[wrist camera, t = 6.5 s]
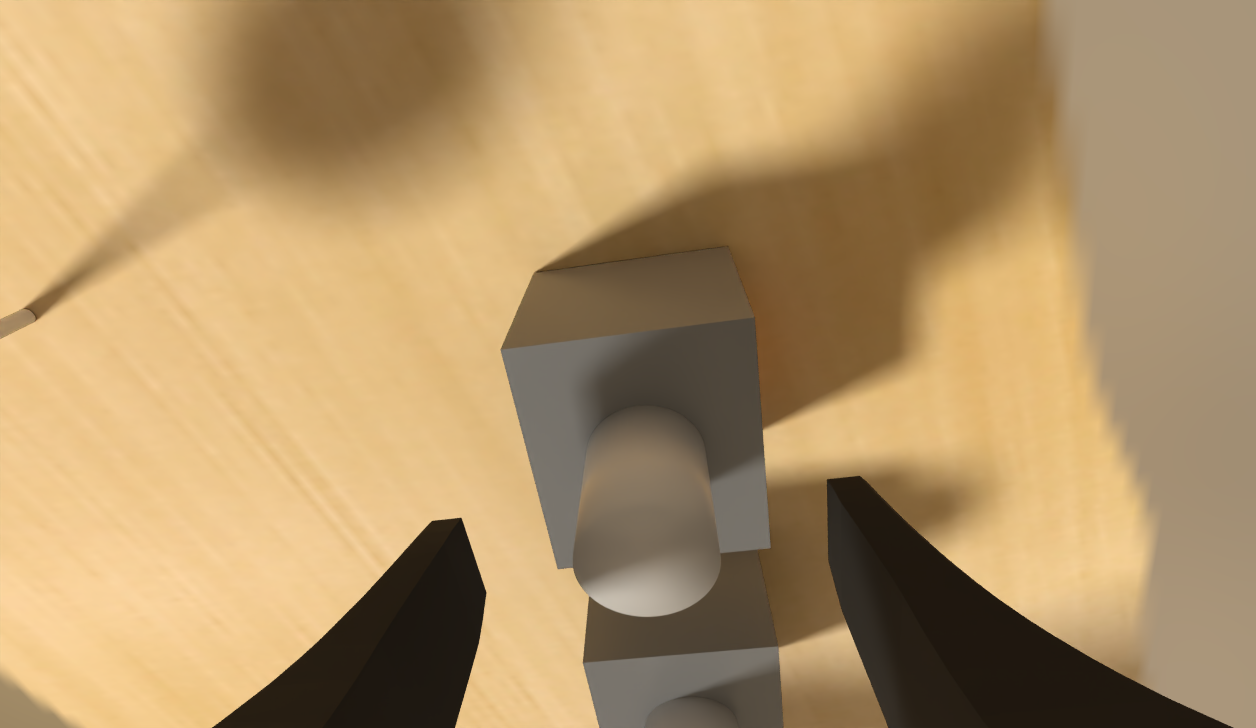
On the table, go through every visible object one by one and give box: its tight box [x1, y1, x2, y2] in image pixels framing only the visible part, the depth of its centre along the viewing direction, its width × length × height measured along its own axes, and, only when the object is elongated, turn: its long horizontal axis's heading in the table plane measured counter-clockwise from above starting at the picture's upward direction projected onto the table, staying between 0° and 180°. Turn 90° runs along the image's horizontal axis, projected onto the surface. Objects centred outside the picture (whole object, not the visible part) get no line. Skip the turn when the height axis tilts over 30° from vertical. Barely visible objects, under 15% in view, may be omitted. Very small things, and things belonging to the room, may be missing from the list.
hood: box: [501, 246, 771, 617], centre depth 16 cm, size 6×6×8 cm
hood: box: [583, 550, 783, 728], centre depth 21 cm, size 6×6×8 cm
